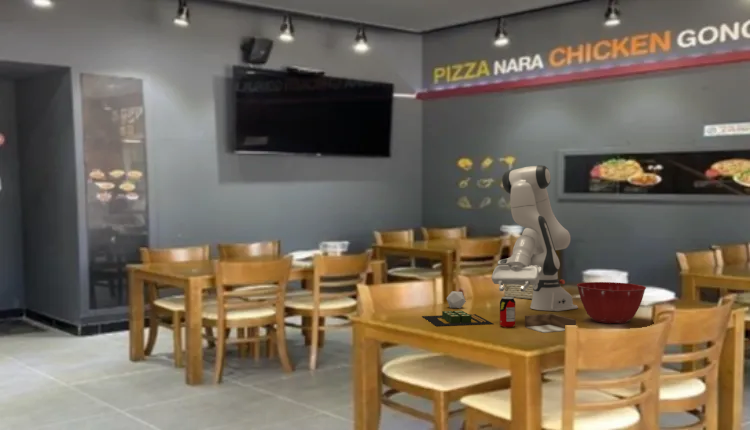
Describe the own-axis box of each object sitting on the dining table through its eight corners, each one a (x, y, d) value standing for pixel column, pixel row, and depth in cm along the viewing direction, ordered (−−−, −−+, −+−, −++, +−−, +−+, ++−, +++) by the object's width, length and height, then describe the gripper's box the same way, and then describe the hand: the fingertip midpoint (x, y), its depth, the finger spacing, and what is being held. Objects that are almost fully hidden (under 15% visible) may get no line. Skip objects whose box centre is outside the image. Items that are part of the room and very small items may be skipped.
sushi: (493, 325, 332) (493, 317, 332) (436, 328, 327) (436, 319, 327) (475, 316, 356) (475, 307, 356) (421, 318, 352) (421, 309, 352)
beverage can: (513, 325, 330) (513, 296, 329) (516, 327, 323) (516, 298, 323) (498, 325, 330) (498, 296, 329) (501, 327, 323) (501, 298, 323)
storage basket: (500, 296, 413) (500, 268, 412) (518, 293, 425) (518, 266, 424) (540, 301, 396) (540, 272, 396) (557, 298, 408) (557, 269, 407)
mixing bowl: (617, 314, 356) (617, 280, 356) (660, 324, 330) (660, 287, 329) (563, 318, 346) (563, 283, 346) (603, 329, 320) (604, 291, 319)
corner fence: (551, 324, 331) (551, 313, 331) (575, 330, 316) (575, 319, 316) (522, 326, 325) (522, 316, 325) (546, 333, 310) (546, 322, 310)
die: (468, 308, 378) (459, 291, 382) (468, 302, 370) (459, 284, 375) (452, 315, 377) (444, 297, 382) (452, 308, 370) (444, 291, 374)
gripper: (544, 270, 335) (537, 295, 326) (498, 270, 345) (491, 294, 337) (540, 260, 331) (534, 286, 323) (494, 260, 341) (487, 285, 333)
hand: (511, 290), depth 330 cm, fingers open, 8 cm apart
